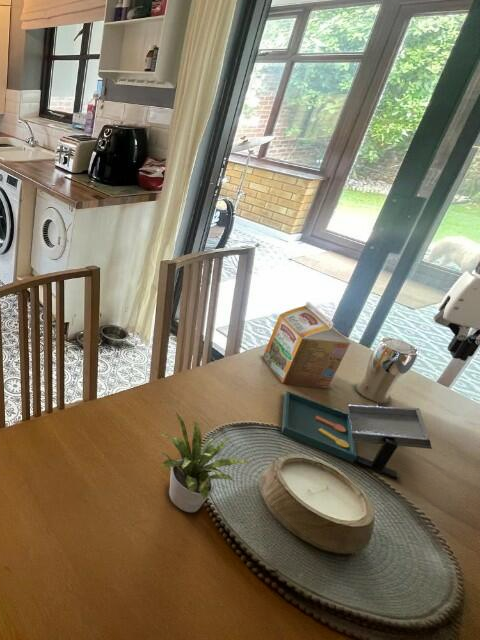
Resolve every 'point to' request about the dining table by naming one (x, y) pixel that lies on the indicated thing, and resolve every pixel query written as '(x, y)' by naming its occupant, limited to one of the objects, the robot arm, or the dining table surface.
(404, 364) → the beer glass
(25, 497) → the dining table surface
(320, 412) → the tray
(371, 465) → the dish cradle
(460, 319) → the robot arm
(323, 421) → the copper key
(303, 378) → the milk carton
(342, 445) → the brass key
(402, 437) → the key dish
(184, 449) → the house plant
